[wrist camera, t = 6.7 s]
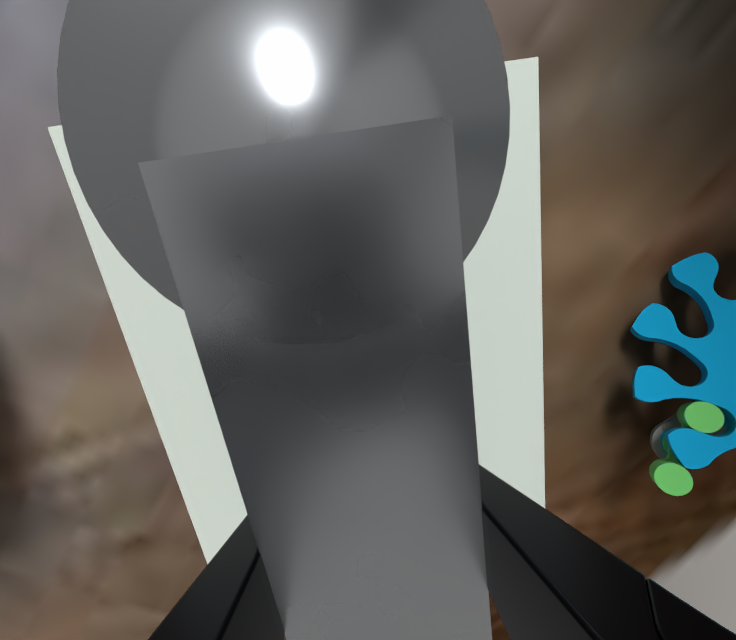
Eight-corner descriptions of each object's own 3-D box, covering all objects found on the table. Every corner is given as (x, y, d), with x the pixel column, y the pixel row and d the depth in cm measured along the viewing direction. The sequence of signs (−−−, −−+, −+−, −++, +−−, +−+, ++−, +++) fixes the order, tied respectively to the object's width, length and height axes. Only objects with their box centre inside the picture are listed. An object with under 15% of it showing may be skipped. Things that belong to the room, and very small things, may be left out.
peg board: (521, 68, 12) (611, 4, 8) (533, 515, 17) (591, 602, 14) (71, 134, 11) (-59, 97, 8) (227, 579, 17) (197, 689, 13)
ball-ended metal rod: (425, -11, 7) (500, -178, 4) (485, 677, 12) (535, 825, 9) (132, 28, 6) (-32, -119, 3) (329, 712, 12) (328, 877, 9)
